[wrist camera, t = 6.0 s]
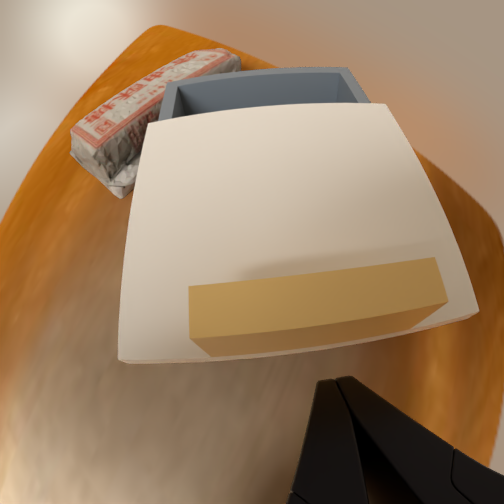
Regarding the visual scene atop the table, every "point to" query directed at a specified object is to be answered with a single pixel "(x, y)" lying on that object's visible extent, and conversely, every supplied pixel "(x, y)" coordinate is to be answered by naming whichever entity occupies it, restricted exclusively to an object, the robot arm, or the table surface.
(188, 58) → the packaged product
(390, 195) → the lid
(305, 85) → the storage box
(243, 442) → the table surface
